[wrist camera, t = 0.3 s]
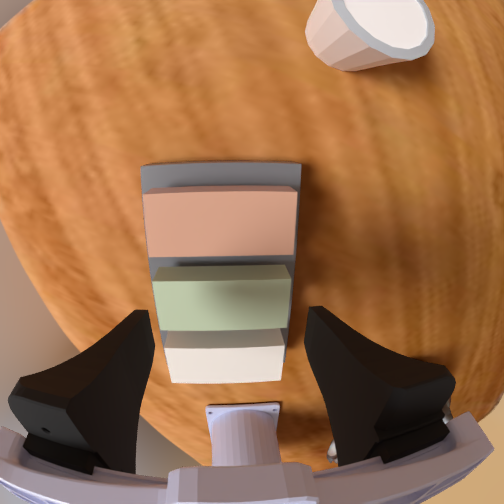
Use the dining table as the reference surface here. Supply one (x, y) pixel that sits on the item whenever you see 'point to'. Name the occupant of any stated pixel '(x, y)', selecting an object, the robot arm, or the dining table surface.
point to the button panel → (224, 176)
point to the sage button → (222, 297)
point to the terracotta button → (220, 220)
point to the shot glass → (369, 32)
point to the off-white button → (225, 356)
